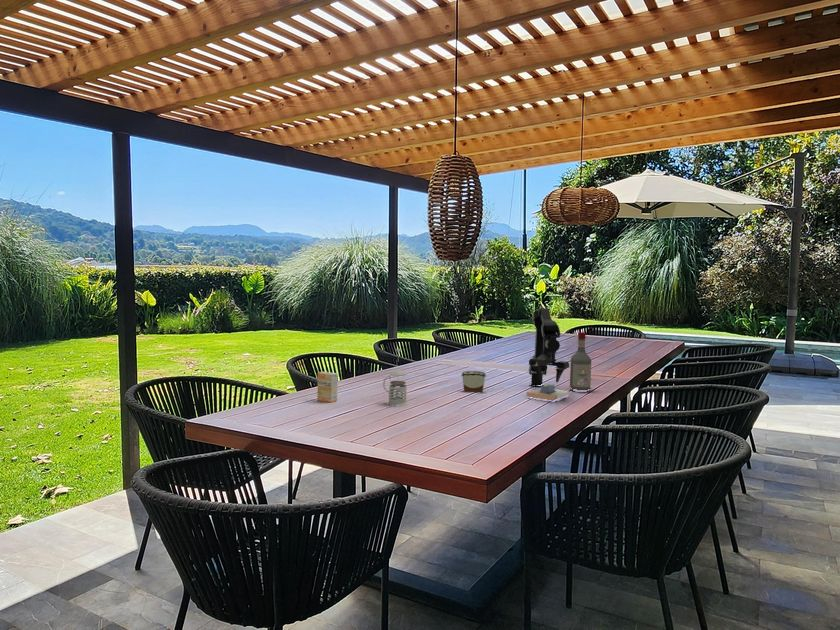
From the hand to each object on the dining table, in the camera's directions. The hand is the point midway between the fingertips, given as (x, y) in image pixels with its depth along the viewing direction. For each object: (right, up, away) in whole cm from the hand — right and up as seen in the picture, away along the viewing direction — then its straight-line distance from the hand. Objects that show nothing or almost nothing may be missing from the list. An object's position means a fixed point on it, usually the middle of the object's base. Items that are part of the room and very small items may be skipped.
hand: (548, 381), depth 283 cm
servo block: (0, -7, +1) cm, 7 cm away
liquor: (+20, -7, +19) cm, 29 cm away
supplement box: (-104, -8, -13) cm, 105 cm away
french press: (-72, -9, -16) cm, 75 cm away
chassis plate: (0, -8, +1) cm, 8 cm away
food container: (-35, -7, +14) cm, 38 cm away
